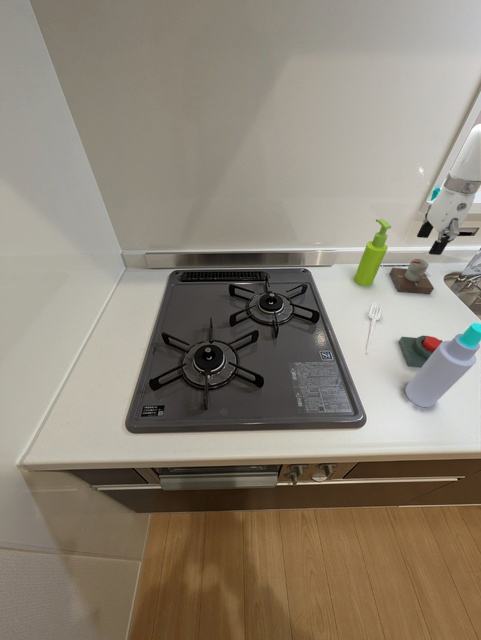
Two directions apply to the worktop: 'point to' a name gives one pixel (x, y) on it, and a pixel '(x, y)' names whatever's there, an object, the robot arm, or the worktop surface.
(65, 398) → the worktop surface
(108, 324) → the worktop surface
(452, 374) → the spray bottle
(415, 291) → the brown flat block
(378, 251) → the soap dispenser
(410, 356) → the button housing
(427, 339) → the button
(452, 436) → the worktop surface
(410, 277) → the dial
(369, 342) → the fork
